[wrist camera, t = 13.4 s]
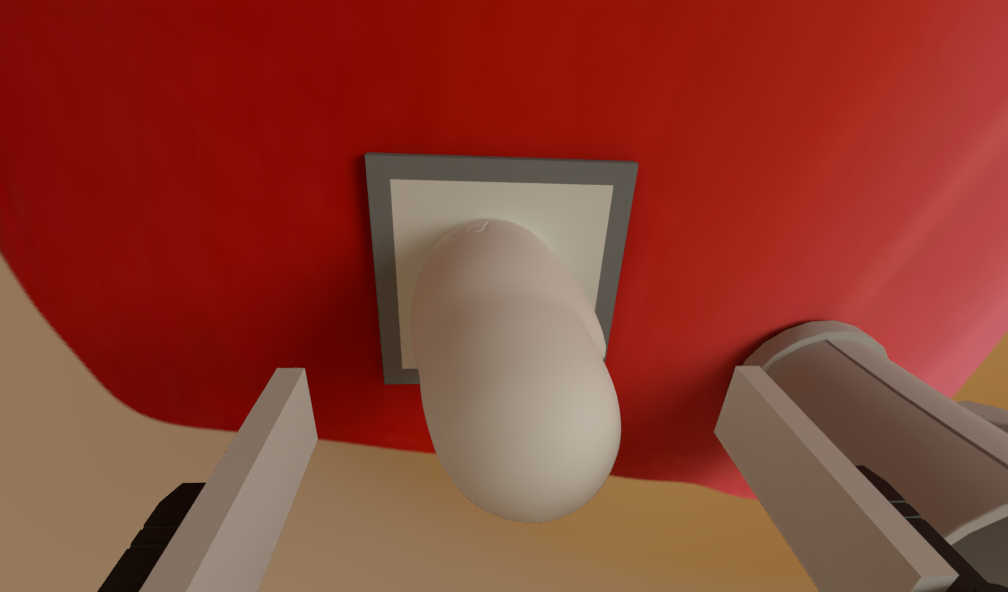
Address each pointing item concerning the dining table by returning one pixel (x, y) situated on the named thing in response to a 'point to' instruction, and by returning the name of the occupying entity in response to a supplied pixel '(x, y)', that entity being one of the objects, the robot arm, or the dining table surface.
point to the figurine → (513, 373)
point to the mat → (498, 195)
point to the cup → (902, 433)
